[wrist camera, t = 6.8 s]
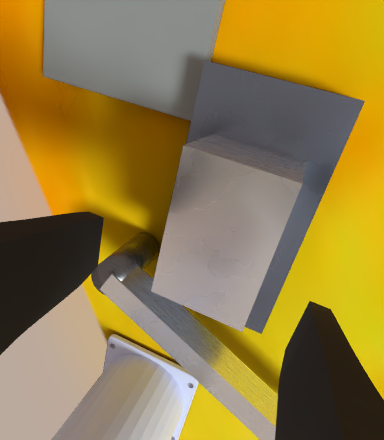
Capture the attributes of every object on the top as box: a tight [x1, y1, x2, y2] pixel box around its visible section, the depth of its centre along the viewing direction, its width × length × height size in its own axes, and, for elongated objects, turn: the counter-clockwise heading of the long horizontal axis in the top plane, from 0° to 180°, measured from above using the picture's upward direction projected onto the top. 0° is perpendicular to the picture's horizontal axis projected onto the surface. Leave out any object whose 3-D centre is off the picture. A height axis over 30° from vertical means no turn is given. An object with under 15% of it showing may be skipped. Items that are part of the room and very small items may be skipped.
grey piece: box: [186, 60, 365, 334], centre depth 18 cm, size 13×7×2 cm, turn 166°
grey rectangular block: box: [151, 134, 306, 332], centre depth 15 cm, size 7×4×4 cm, turn 166°
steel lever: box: [91, 233, 278, 440], centre depth 20 cm, size 2×18×5 cm, turn 52°
